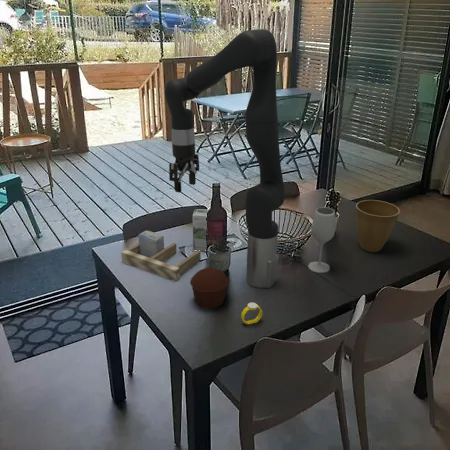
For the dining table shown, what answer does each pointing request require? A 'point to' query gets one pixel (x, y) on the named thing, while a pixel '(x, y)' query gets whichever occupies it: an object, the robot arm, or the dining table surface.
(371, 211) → the plant pot
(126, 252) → the wooden tray
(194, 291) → the muffin
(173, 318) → the dining table surface
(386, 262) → the dining table surface
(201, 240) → the syrup box
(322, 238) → the wineglass
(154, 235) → the medicine box
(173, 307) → the dining table surface
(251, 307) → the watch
